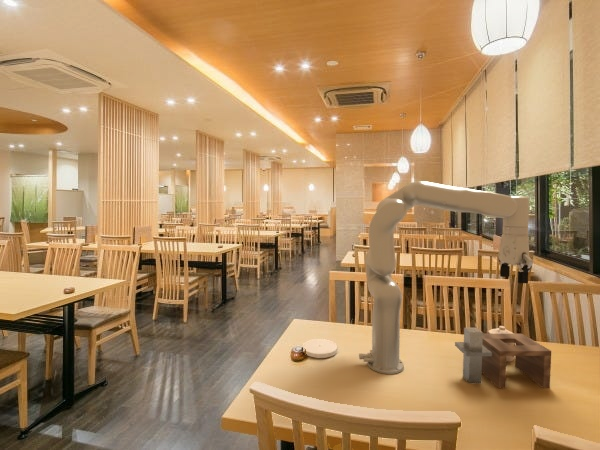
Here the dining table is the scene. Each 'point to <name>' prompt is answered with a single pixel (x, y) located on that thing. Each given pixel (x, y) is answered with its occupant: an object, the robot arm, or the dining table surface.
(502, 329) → the teacup with lid
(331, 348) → the plastic lid
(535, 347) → the slotted bridge
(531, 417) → the dining table surface
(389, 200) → the robot arm
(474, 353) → the collared peg
